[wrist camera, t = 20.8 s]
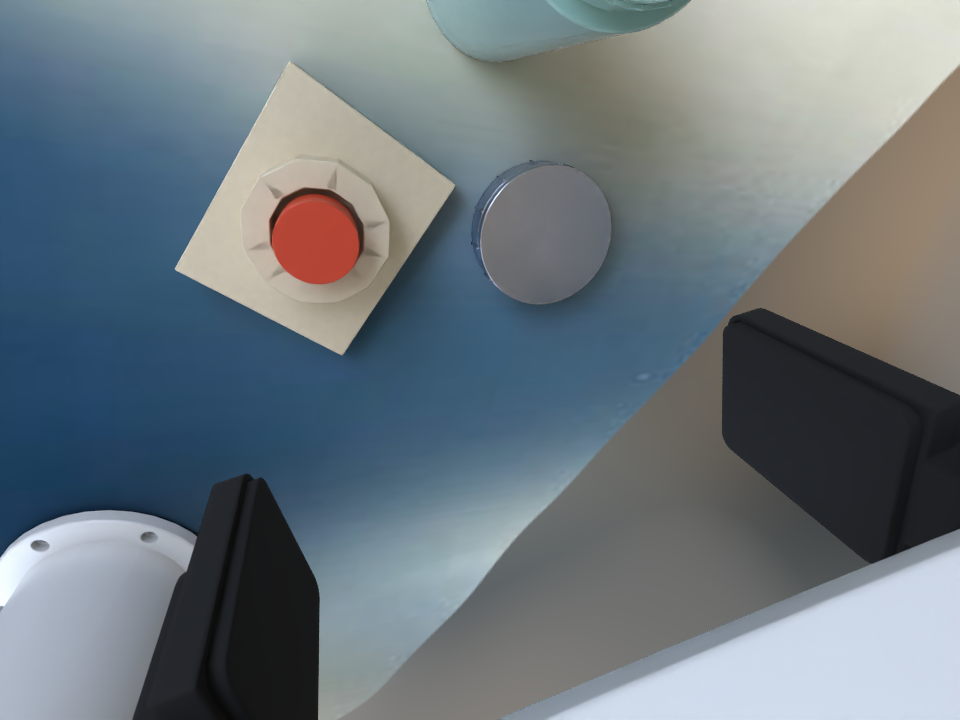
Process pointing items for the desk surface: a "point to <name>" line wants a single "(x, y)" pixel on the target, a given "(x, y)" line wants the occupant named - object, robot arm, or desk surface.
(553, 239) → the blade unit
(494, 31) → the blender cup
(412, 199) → the cream base plate
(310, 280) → the power button
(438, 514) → the desk surface
